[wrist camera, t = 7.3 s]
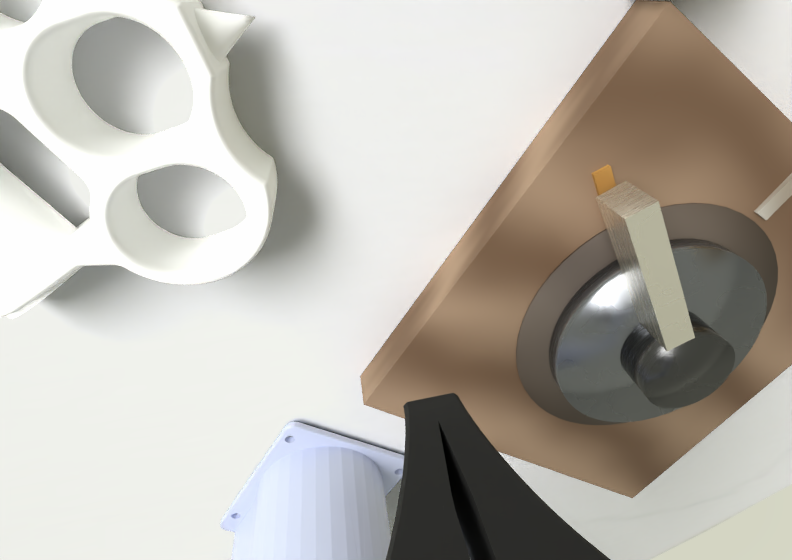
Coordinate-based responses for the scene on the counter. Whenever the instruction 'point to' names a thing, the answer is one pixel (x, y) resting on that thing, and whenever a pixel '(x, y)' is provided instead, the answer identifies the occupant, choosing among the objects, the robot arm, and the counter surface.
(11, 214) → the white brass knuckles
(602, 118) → the dial board
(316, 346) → the counter surface
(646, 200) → the dial
